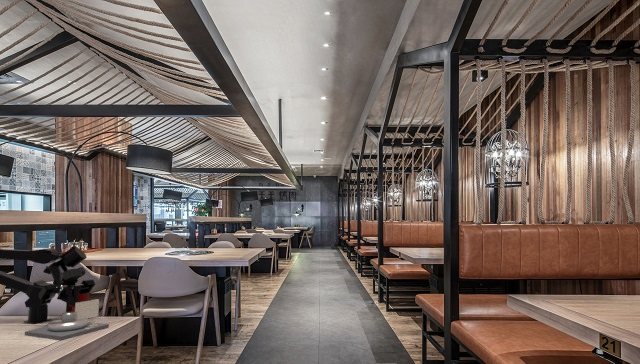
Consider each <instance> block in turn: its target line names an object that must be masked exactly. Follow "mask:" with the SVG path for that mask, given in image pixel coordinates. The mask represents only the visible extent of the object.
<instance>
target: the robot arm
mask: <svg viewBox="0 0 640 364" xmlns="http://www.w3.org/2000/svg"><path fill="white" fill-rule="evenodd" d="M86 259H87V255H86V253H85V251H82V249H80V248H79V247H77V245H73V246H71V247H70V248H69V249H68V250H67V251H65V252H59V251H58V250H57V249H56V248H53V247H50V248H42V249H33V250H29V249H11V248H10V249H9V248H1V247H0V260H12V261H13V260H15V261H16V260H17V261H29V262H33V263H38V264H41V265H46V264H50V265H46V266H45V268H44V270H43V271H42V272H43V273H45V274H46V275H51V277H52V278H53V282H52V283H49V282H46V281H44V280H43V279H42V280H37V281H34V282H32V281H29V280H27V279H24V278H21V277H18V276H15V275H12V274H10V273H9V272H8V273H7V272H5V271H2V270H0V285H2V286H4V287H7V288H10V289H13V290H16V291H17V292H21V293H23V294H25V295H26V296H27V297H28V298H27V299H26V300H25V301H24V305H25V308H28V314H27V315H28V317H27V320H24V321H23V323H25V324H26V323H27V324H33V325H35V324H39V323H40V324H41V323H43V322H50V321H51V320H52V319H51V318H48V317H49V316H48V315H49V314H48V313H49V307H48V304H50V303H51V301H52V299H53V298H55V296H56V294H57V298H56V299H57V300H60V301H62V302H64V303H65V304H66V303H68V304H69V305H71V306H73V307H74V308H75V304H76V303H77V302H78V293H80V294H88V293H89V294H90V293H91V292H92V290H93V289H94V287H95V285H96V282H95V280H94V279H83V280H82V281H81V283H78V282H79V280H78V279H79V278H82V277H83V276H85V275H86V269H85V268H84V266H79V267H78V268H75V267H76V266H78V265H79V264H81V263H82V262H83V261H85V260H86ZM69 268H70V269H69ZM76 283H77V284H76Z"/></svg>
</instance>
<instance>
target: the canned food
mask: <svg viewBox="0 0 640 364" xmlns="http://www.w3.org/2000/svg"><path fill="white" fill-rule="evenodd" d="M89 298H90V293H88V294H80V293H78V302H83V301H89ZM65 305H66V306H65V312H75V308H74V307H73V306H71V305H69V304H68V303H66V302H65Z"/></svg>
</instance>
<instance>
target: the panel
mask: <svg viewBox="0 0 640 364" xmlns="http://www.w3.org/2000/svg"><path fill="white" fill-rule="evenodd" d="M109 326H110V325H109V323H102V322H96V321H88V325H87V326H86V327H83V328H79V329H75V330H68V331H50V330H48V325H47V326H44V327H38V328H34V329H31V330H26V331H24V336H27V337H36V338H42V339H43V338H44V339H50V340H57V341H64V340H68V339H71V338H76V337H79V336H82V335H86V334H90V333H93V332H97V331H101V330H105V329H108V327H109Z"/></svg>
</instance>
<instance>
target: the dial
mask: <svg viewBox="0 0 640 364" xmlns="http://www.w3.org/2000/svg"><path fill="white" fill-rule="evenodd" d="M99 308H100V299H98V298H97V299H91V300H89V301H83V302H77V303H76V304H75V312H66V311H64V312H62V313H61V314H62V315H61V319H56V320H52V321H48V323H47V326H48V330H50V331H68V330H75V329H79V328H83V327H86V326H87V325H88V322H89V318H95V317H99V311H100V310H99Z"/></svg>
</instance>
